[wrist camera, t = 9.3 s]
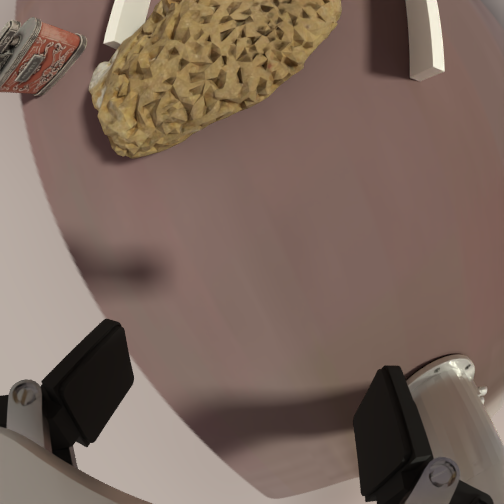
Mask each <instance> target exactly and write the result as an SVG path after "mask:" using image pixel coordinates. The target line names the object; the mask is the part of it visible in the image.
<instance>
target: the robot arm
mask: <svg viewBox="0 0 504 504" xmlns="http://www.w3.org/2000/svg"><path fill="white" fill-rule="evenodd" d="M474 374H475V367H474V364H473V362H472V361H471V360H470V358H469V357H467V356H465V355H461V354H456V355H450V356H446V357H443V358H440V359H438V360H436V361H434V362H432V363H430V364H428V365H426V366H425V367H423V368H422V369H420V370H419V371H417V372H416V373H415V374H414V375H412V376H411V377H410V378H409V379H408V380H407V381H406V380H405V377H404V375H403V372H402V370H401V368H400V366H384V367H383V368H382V369H379V370H378V371H377V373H376V375H375V377H374V379H373V381H372V383H371V385H370V387H369V389H368V391H367V393H366V395H365V397H364V399H363V401H362V403H361V404H360V406H359V408H358V410H357V412H356V413H355V415H354V419H353V426H354V433H355V441H356V449H357V457H358V467H359V477H360V488H361V494H362V496H365V501H366V502H370V501H377V504H504V445H503V443H502V441H501V439H500V436H499V434H498V432H497V430H496V428H495V426H494V424H493V422H492V420H491V418H490V416H489V414H488V412H487V410H486V409H485V407H484V405H483V403H484V397H483V396H482V395H485V394H486V393H487V387H486V386H481V387H478V388H477V386H476V384H475V383H474V381H473V378H474ZM133 381H134V375H133V371H132V366H131V362H130V357H129V352H128V347H127V342H126V336H125V331H124V328H123V327H121V324H120V323H119V322H116V321H113V320H110V319H105V320H103V321H102V322H101V323H100V324H99V325H98V326H97V327H96V328H95V329H94V330H93V331H92V332H90V334H88V335H87V336H86V337H85V338H84V339H83V340H82V341H81V342H80V343H79V344H78V345H77V346H76V347H75V348H74V349H73V350H72V351H71V352H70V353H69V354H68V355H67V356H66V357H65V358H64V359H63V360H62V361H61V362H60V363H59V364H58V365H57V366H56V367H55V368H54V369H53V370H52V371H51V372H50V373H49V374H48V375H47V376H46V377H45V378H44V379H43V380H42V385H41V386H39V384H38V383H36V382H35V381H32V380H21V381H19V382H17V383H15V384H14V385H13V386H12V388H11V389H10V392H9V395H5V396H4V395H3V396H0V504H152V503H149V502H147V501H144V500H141V499H139V498H136V497H134V496H131V495H129V494H127V493H124V492H122V491H120V490H118V489H115V488H113V487H111V486H109V485H107V484H105V483H103V482H101V481H99V480H97V479H95V478H93V477H91V476H89V475H88V474H86V473H84V472H82V471H80V470H79V469H78V467H77V463H76V458H75V454H74V449H73V444H74V443H75V442H78V443H80V444H82V445H84V446H85V447H88V445H89V444H90V443H93V442H95V441H96V439H97V437H98V436H99V434H100V433H101V431H102V430H103V428H104V427H105V425H106V424H107V422H108V420H109V419H110V417H111V416H112V415H113V413H114V411H115V410H116V409H117V407H118V405H119V404H120V402H121V401H122V399H123V398H124V396H125V395H126V393H127V392H128V391H129V389H130V388H131V386H132V384H133Z"/></svg>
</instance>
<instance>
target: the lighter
mask: <svg viewBox="0 0 504 504" xmlns="http://www.w3.org/2000/svg"><path fill="white" fill-rule="evenodd" d="M86 45H87V39H86V37H85V36H83V35H80V34H73V33H70V32H68V31H65V30H62V29H60V28H57V27H54V26H51V25H48V24H46V23H42V21H41V20H40V19H37V18H33V17H32V18H30V19H28V20H27V21H26V22H25V23H24V24H23V25H22V26H21V23H20V22H18V21H14V20H11V21H10V22H7V24H6V25H5V26H4V28H3V29H2V30H1V32H0V92H13V93H14V92H15V93H31V94H33V95H34V96H42V95H44V94H45V93H46V92H47V91H48V90H49V89H50V88H51V87H53V86H54V85H55V84H56V83H57V81H58V80H59V79H60V78H61V77H62V76H63V75H64V74H65V73H66V72H67V71H68V70H69V68H70V67H71V66H72V65H73V64H74V63H75V61H76V60H77V59H78V57H79V56H80V55H81V54H82V53H83V51H84V50H85V48H86Z"/></svg>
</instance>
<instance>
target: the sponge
mask: <svg viewBox="0 0 504 504" xmlns="http://www.w3.org/2000/svg"><path fill="white" fill-rule="evenodd" d="M341 11H342V9H341V0H161V1H160V2H159V3H158V4H157V5H156V6H155V8H154V11H153V12H152V14H151V15H150V17H149V18H148V19H147V21H146V22H145V23H144V24H143V25H142V26H141V27H140V28H139V29H138V30H137V31H136V32H135V33H134V34H133V35H132V36H130V37H129V38H127V39H125V40H124V41H123V42H122V43H121V45H120V46H119V47H118V48H117V50H116V51H115V53H114V54H113V56H112V57H111V59H110V60H109V61H108V62H102V63H100V64H99V65H98V66H97V68H96V69H95V71H94V73H93V76H92V79H91V82H90V85H89V92H90V94H91V95H92V102H93V105H94V108H96V109H97V110H98V119H99V121H100V123H101V126H102V129H103V131H104V134H105V135H108V138H109V141H110V144H111V146H112V149H113V150H114V151H115V152H116V153H117V154H118V155H121V156H125V155H126V156H128V157H130V158H133V159H134V158H139V157H143V156H147V155H150V154H153V153H158V152H161V151H164V150H166V149H168V148H171V147H173V146H175V145H177V144H179V143H181V142H183V141H184V140H186V139H187V138H188V137H189V136H191V135H192V134H193V133H195V132H197V131H199V130H201V129H203V128H205V127H206V126H208V125H210V124H212V123H214V122H216V121H218V120H221V119H224V118H227V117H229V116H231V115H232V114H234V113H236V112H239V111H241V110H244V109H247V108H249V107H251V106H253V105H255V104H257V103H259V102H261V101H263V100H264V99H266V98H267V97H269V96H270V95H271V94H272V93H273V92H274V91H275V90H276V89H277V88H278V87H279V86H280V85H281V84H282V83H284V81H286V80H288V79H289V78H290V77H291V76H292V75H294V74H295V73H297V72H299V71H300V70H301V69H303V68H304V62H305V60H306V59H307V57H308V56H309V55H310V54H311V53H312V52H313V51H314V50H315V49H316V48H317V47H318V45H319V44H320V43H321V42H322V41H323V40H324V39H326V38H327V37H328V36H329V34H330V32H331V31H332V30H333V29H334V28H335V27H336V26H337V23H336V22H337V21H338V20H339V18H340V14H341Z"/></svg>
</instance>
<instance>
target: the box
mask: <svg viewBox="0 0 504 504" xmlns="http://www.w3.org/2000/svg"><path fill="white" fill-rule="evenodd" d="M150 1H151V0H115V2H114V5H113V8H112V12H111V15H110V19H109V23H108V26H107V30H106V34H105V39H104V43H103V44H106V45H108V46H110V47H112V48H114V49H116V50H117V48H118V47H119V46H120V45H121V43H122V42H123V41H124V40H125V39H127V38H129V37H130V36H132V35H133V34H134V33H135V32H136V31H137V30H138V29H139V28H140V27H141V26H142V25H143V24H144V23H145V20H146V16H147V12H148V8H149V5H150ZM405 2H406V10H407V20H408V33H409V55H410V78H412V79H415V80H417V81H423V80H425V79H427V78H430V77H432V76H435V75H437V74H440V73H443V72H445V71H444V53H443V41H442V32H441V24H440V17H439V11H438V5H437V0H405Z"/></svg>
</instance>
